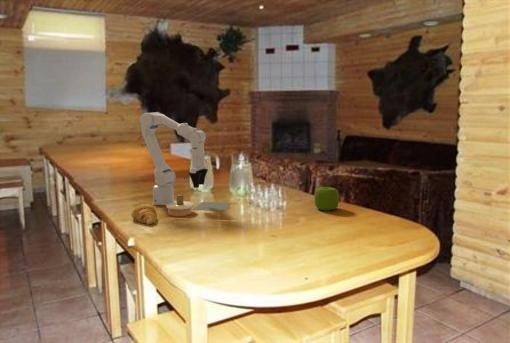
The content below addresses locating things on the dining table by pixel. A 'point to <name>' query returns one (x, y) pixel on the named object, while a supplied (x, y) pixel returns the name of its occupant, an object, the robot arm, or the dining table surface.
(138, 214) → the croissant
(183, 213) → the brown rounded ring
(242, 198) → the dining table surface
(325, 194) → the green rounded cube
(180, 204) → the lid
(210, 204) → the mat
